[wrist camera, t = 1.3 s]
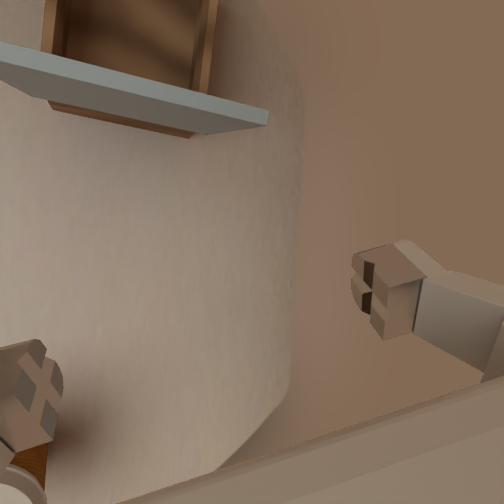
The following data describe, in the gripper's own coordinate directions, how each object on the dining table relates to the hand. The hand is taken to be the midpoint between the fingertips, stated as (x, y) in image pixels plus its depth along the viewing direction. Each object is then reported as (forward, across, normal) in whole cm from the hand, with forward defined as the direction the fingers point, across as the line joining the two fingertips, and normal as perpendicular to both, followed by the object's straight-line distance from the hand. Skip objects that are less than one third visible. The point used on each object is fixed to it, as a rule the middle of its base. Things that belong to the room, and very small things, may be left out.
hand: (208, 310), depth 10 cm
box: (+40, +2, -3) cm, 40 cm away
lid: (+21, +2, -2) cm, 21 cm away
